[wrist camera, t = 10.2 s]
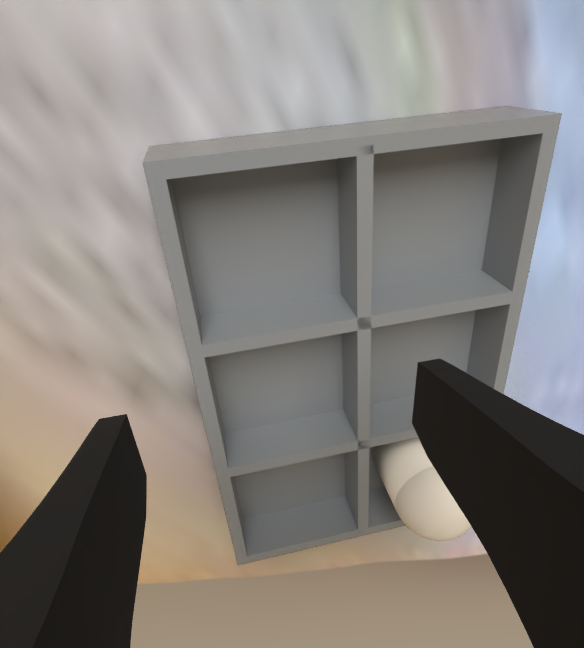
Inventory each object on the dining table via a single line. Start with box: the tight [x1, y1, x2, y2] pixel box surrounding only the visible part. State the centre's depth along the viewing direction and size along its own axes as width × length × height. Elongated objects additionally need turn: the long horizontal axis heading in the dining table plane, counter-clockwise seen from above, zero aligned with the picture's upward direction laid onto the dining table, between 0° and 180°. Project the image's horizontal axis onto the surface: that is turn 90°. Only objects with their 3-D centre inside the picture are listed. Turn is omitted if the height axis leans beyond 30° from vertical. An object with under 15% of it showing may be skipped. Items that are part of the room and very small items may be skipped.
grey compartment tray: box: [143, 106, 562, 565], centre depth 22 cm, size 15×22×3 cm
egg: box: [371, 437, 472, 541], centre depth 24 cm, size 4×4×6 cm
